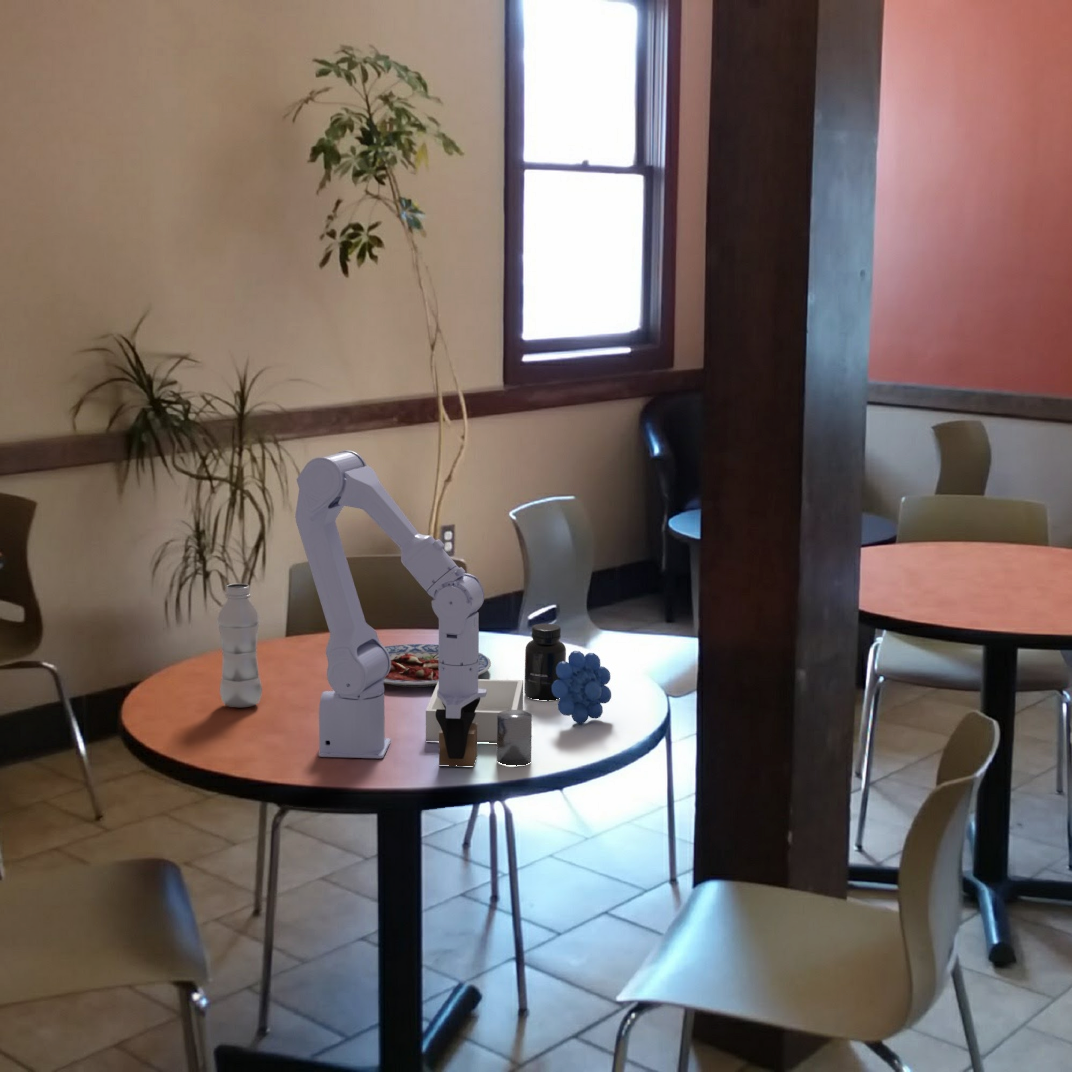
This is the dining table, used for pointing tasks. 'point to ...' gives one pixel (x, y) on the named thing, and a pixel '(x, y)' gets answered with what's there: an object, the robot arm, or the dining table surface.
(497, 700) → the box
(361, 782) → the dining table surface
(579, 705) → the blue knobbed flower shape
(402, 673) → the ceramic plate
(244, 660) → the plastic bottle
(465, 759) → the walnut cube
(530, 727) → the grey metal cylinder
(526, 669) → the supplement bottle
